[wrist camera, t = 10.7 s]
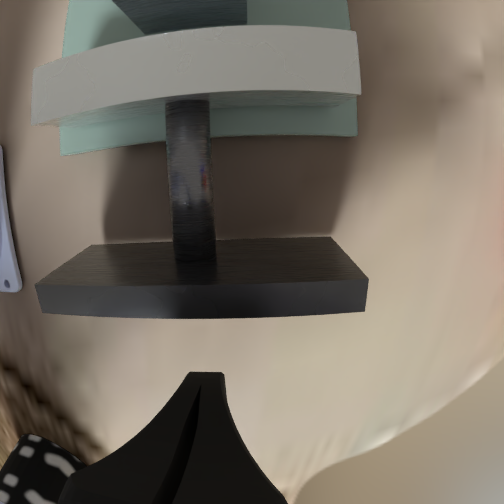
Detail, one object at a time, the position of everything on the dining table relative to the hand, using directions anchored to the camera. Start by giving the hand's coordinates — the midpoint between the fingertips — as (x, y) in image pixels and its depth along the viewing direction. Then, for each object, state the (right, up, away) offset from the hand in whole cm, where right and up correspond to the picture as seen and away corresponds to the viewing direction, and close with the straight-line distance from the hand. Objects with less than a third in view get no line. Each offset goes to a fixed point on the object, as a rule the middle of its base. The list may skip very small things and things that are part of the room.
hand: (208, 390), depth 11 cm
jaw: (0, +9, 0) cm, 9 cm away
